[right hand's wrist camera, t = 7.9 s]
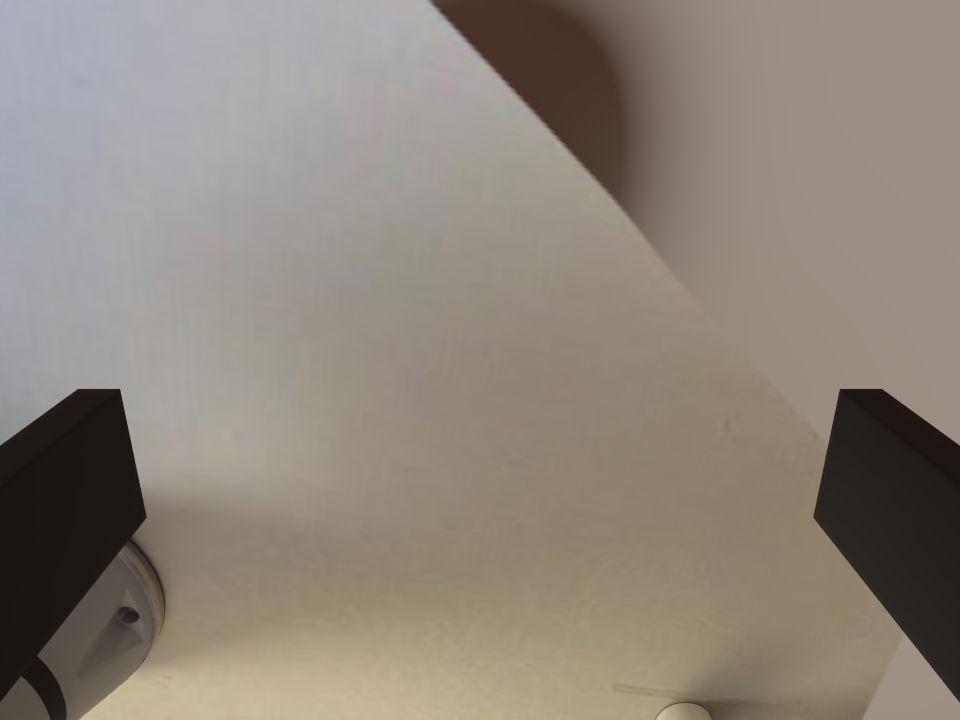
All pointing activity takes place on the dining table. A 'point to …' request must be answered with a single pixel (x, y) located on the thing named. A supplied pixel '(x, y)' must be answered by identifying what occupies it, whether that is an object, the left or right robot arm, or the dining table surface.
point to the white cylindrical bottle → (684, 712)
